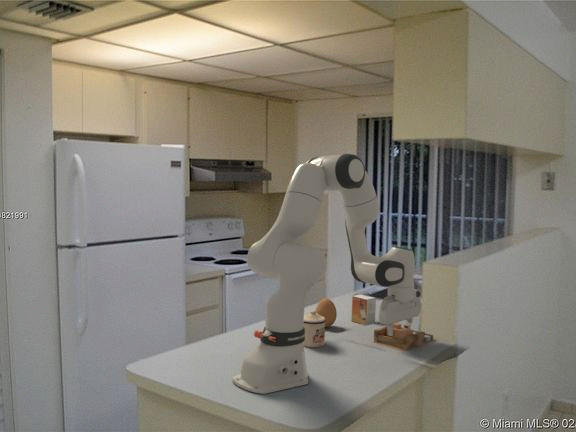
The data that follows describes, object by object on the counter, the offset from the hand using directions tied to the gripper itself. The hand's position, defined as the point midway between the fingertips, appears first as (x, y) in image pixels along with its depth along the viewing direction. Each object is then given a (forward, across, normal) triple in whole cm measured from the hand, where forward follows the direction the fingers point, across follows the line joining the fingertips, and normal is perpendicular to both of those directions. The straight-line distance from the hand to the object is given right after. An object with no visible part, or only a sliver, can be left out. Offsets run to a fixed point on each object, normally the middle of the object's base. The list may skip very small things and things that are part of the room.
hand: (399, 332), depth 190 cm
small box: (+5, +15, +28) cm, 32 cm away
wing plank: (+3, +10, 0) cm, 10 cm away
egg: (+5, -2, +32) cm, 33 cm away
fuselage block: (+3, 0, 0) cm, 3 cm away
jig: (+5, +3, 0) cm, 5 cm away
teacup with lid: (+5, -20, +22) cm, 30 cm away
